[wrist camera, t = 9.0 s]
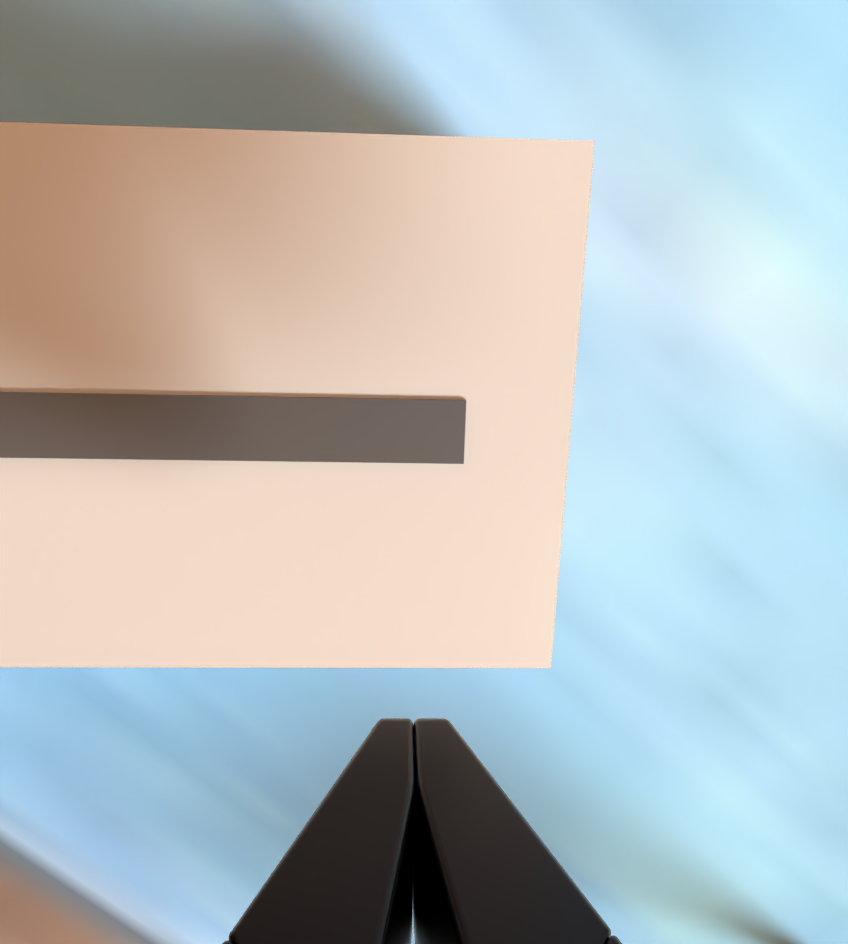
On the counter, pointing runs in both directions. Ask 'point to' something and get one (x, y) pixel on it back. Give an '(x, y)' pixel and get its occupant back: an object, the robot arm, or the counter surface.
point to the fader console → (285, 395)
